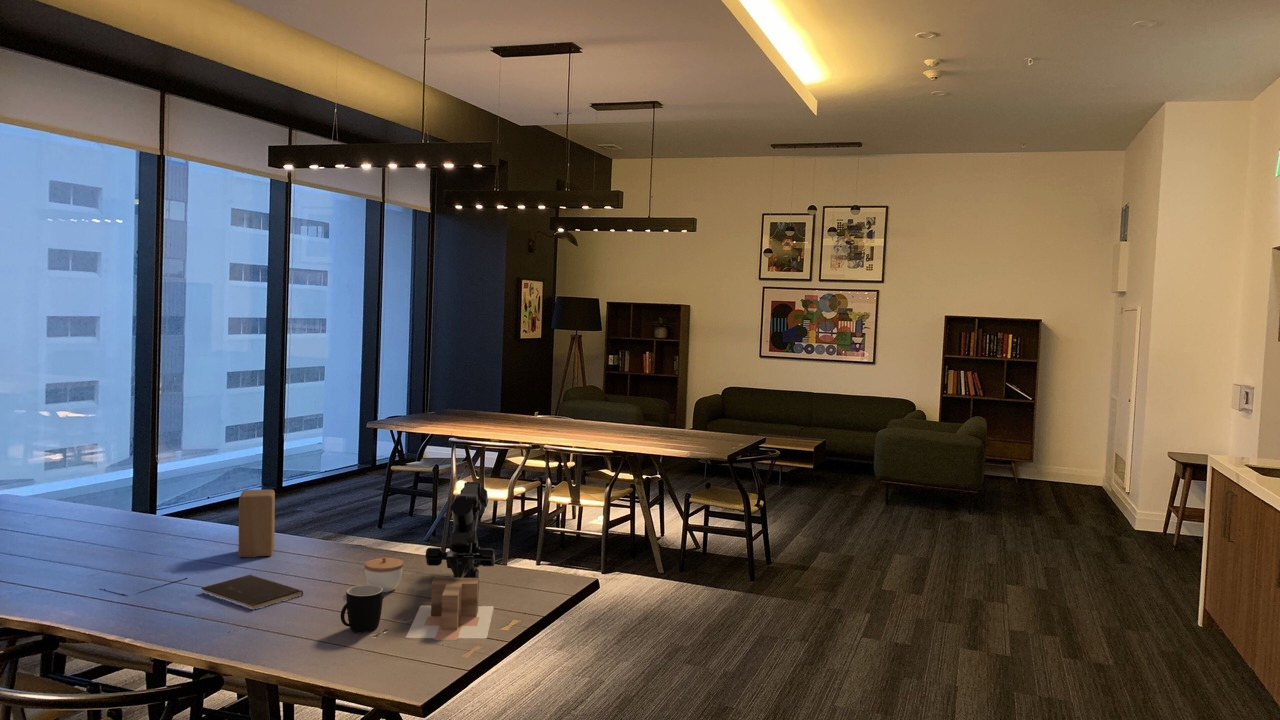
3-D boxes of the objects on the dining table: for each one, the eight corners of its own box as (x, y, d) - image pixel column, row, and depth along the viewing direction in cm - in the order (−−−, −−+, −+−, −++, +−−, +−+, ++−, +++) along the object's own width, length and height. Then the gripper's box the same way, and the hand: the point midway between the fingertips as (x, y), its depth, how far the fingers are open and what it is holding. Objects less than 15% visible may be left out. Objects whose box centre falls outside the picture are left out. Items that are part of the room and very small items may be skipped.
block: (241, 550, 303) (242, 489, 302) (274, 548, 306) (275, 488, 305) (238, 558, 294) (238, 496, 293) (272, 557, 297) (272, 495, 296)
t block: (472, 630, 239) (473, 595, 238) (425, 629, 238) (426, 595, 238) (478, 610, 254) (479, 578, 253) (433, 609, 253) (434, 577, 252)
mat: (486, 641, 233) (486, 640, 233) (404, 640, 231) (404, 639, 231) (494, 607, 258) (494, 606, 258) (420, 606, 256) (420, 605, 256)
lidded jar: (356, 590, 268) (356, 558, 267) (382, 581, 277) (383, 550, 276) (384, 597, 263) (384, 564, 262) (410, 587, 272) (411, 556, 271)
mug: (365, 620, 244) (365, 582, 244) (389, 627, 240) (390, 589, 239) (328, 633, 234) (329, 594, 233) (353, 641, 229) (354, 601, 229)
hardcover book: (253, 613, 248) (253, 604, 248) (201, 595, 260) (201, 587, 260) (303, 597, 262) (303, 589, 261) (251, 581, 274) (251, 574, 274)
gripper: (427, 519, 259) (420, 569, 249) (494, 520, 260) (490, 570, 250) (430, 539, 267) (423, 589, 257) (496, 540, 269) (492, 590, 258)
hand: (457, 584), depth 255 cm, fingers closed
